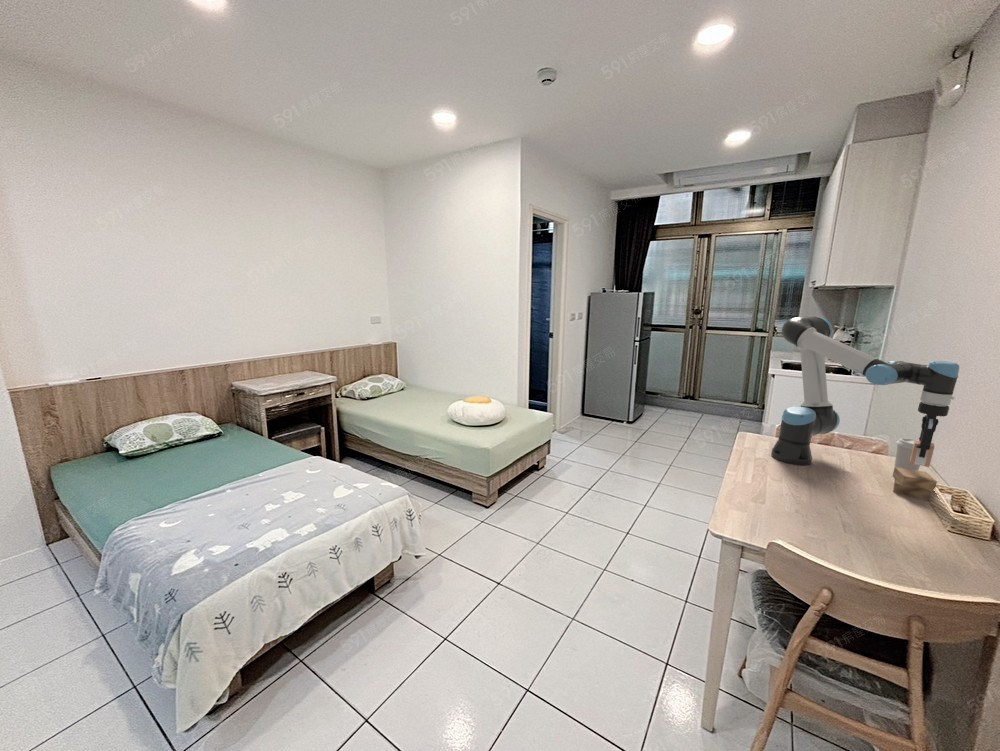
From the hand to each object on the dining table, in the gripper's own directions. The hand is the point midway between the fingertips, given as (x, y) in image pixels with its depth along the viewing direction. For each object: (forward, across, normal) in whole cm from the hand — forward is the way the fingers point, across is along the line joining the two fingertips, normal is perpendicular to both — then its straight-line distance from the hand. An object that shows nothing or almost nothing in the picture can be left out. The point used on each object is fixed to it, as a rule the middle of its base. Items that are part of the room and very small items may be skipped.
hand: (919, 462), depth 151 cm
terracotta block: (0, 0, 0) cm, 0 cm away
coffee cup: (+13, +19, +2) cm, 23 cm away
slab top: (+9, 0, 0) cm, 9 cm away
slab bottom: (+13, 0, 0) cm, 13 cm away
